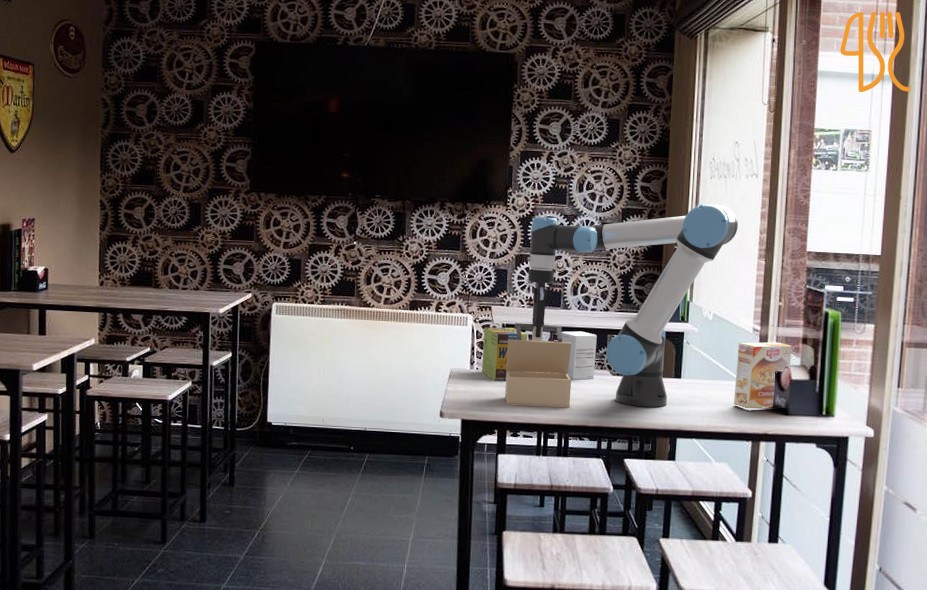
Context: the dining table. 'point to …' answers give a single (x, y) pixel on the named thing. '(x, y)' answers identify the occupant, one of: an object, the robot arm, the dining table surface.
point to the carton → (537, 389)
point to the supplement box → (581, 354)
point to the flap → (538, 352)
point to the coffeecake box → (759, 372)
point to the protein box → (497, 351)
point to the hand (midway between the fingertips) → (536, 347)
